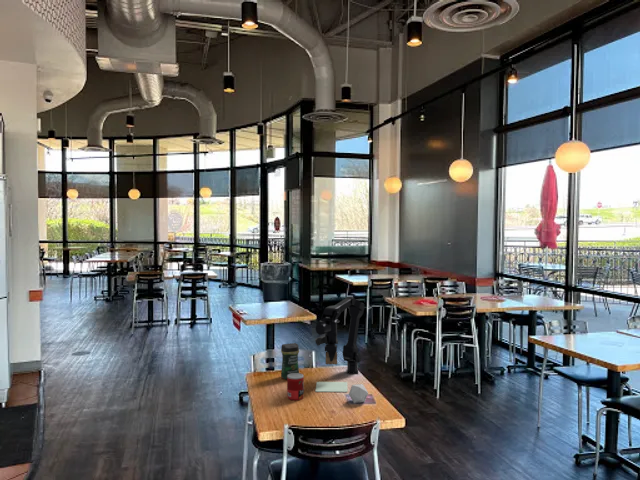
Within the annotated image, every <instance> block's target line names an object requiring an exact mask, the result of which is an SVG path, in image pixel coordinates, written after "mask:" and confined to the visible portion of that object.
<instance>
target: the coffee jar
mask: <svg viewBox="0 0 640 480" xmlns="http://www.w3.org/2000/svg"><path fill="white" fill-rule="evenodd" d="M280 353H281V355H282V357H281V358H282V360H281V361H282V362H281V371H280V373H281V374H280V376H281V378H282V379H284V380H287V375H288V374H291V373H300V369H299V367H300V366H299V353H300V348H299V344H298V343H296V342H293V343H292V342H291V343H284V344H282V345H281V350H280Z"/></svg>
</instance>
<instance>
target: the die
mask: <svg viewBox="0 0 640 480" xmlns="http://www.w3.org/2000/svg"><path fill="white" fill-rule="evenodd" d="M368 394H369V392H368V390H367V388H366V387H365V384H362V383H361V384H358V383H357V384H352V385H351V387H350V389H349V392H348V397H350V399H351V400H352V402H353V404H360V403H365V402H366V399H367V397H368Z"/></svg>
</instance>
